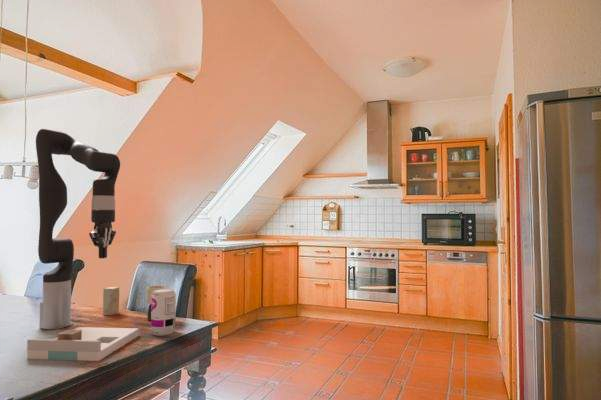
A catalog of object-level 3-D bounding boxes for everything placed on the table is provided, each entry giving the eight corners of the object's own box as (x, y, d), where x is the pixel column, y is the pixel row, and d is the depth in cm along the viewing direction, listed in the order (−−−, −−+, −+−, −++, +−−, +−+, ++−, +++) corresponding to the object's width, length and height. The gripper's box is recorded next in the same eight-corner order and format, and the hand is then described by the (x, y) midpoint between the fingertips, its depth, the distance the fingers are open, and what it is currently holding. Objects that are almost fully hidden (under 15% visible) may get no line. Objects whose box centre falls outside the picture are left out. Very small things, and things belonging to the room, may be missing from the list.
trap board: (27, 358, 117) (27, 339, 117) (79, 334, 141) (79, 318, 141) (98, 360, 115) (98, 341, 116) (138, 335, 139) (139, 319, 139)
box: (111, 315, 167) (111, 288, 168) (102, 315, 168) (102, 288, 169) (119, 312, 173) (119, 286, 173) (110, 312, 173) (111, 286, 174)
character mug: (169, 320, 160) (170, 287, 160) (152, 323, 155) (152, 289, 155) (158, 315, 168) (158, 284, 168) (141, 318, 163) (141, 286, 163)
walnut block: (57, 349, 118) (57, 334, 118) (67, 344, 122) (67, 329, 123) (71, 349, 118) (72, 334, 118) (81, 344, 122) (81, 329, 122)
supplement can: (151, 337, 137) (152, 293, 138) (150, 331, 145) (150, 289, 145) (176, 334, 141) (176, 291, 141) (173, 328, 148) (174, 287, 149)
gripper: (104, 209, 148) (103, 256, 147) (81, 208, 135) (80, 260, 134) (123, 209, 147) (122, 256, 147) (102, 208, 134) (102, 260, 133)
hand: (102, 258), depth 140 cm, fingers closed
